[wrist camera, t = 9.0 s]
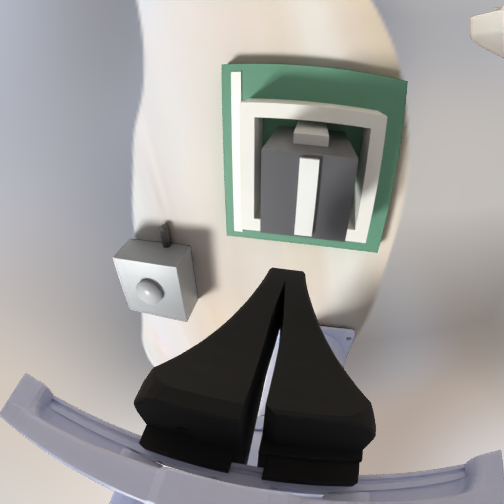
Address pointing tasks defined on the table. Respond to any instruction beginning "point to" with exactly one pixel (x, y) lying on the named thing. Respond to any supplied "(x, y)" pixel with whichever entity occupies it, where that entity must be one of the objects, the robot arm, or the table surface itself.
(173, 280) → the gray button box
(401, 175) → the table surface
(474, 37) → the cable organizer
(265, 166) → the plug
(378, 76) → the board
